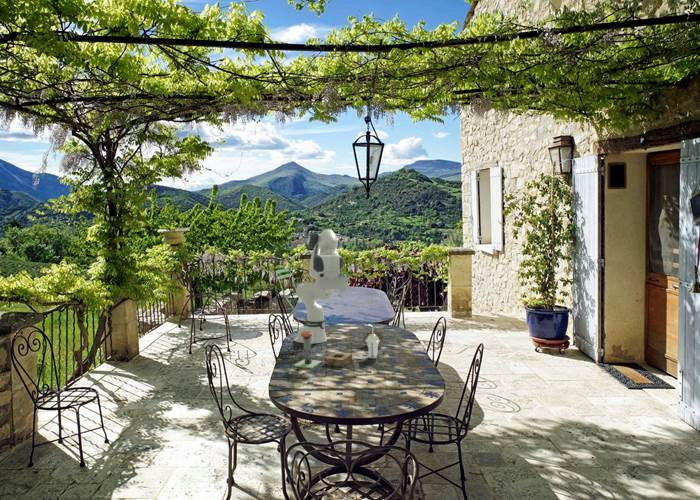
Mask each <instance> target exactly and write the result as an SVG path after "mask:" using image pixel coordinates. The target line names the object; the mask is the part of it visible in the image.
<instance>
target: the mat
mask: <svg viewBox="0 0 700 500" xmlns="http://www.w3.org/2000/svg"><path fill="white" fill-rule="evenodd" d="M321 362H322V363H323V360H316V359H312V363H311V364H305V359H301V360H300V361H297V362H296V363H295V364H293V367H295V368H305V369H311V370H312V369H314V368H316V367H317V366H319V365H321V364H322V363H321ZM320 363H321V364H320ZM318 364H319V365H318Z"/></svg>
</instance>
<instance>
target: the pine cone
mask: <svg viewBox="0 0 700 500" xmlns="http://www.w3.org/2000/svg"><path fill="white" fill-rule="evenodd" d="M371 334H372V330H371V331H369V332H366V333H365V334H364V335H363V338H362V339H359V338H358V339H357V338H355V337H352V336H349V339H350V340H351V341H353V342H354V341H355V342H357V343H363V344H365V345H366V347H368V345H367V342H366V339H367V337H368V336H369V335H371ZM373 334H375V335H377V337H378V339H380V342H379V344H378V345H380V344H381V343H383V341H384V340H385V339H384V337H385V336H384V335H383V333H381V332H380V331H378V330H373Z"/></svg>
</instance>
